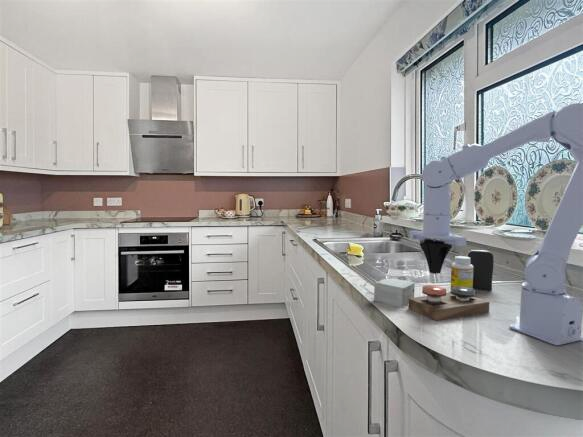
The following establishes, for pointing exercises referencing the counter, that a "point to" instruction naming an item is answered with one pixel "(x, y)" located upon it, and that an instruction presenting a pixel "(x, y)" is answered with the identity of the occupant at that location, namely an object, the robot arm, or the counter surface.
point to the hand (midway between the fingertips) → (435, 272)
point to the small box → (393, 291)
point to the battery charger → (482, 268)
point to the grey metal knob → (462, 293)
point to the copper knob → (434, 294)
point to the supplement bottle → (462, 272)
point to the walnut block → (448, 307)
